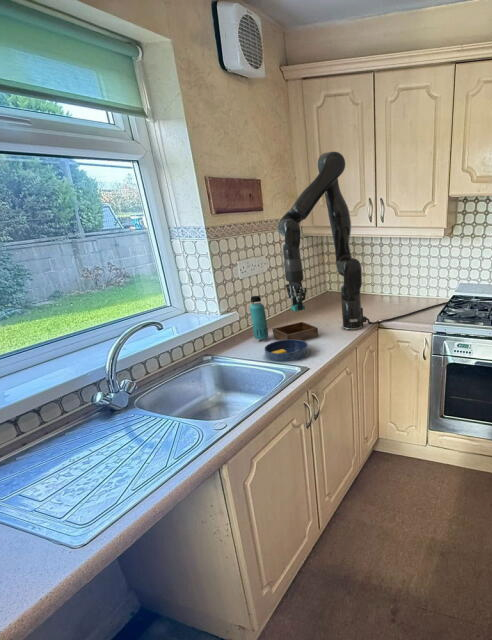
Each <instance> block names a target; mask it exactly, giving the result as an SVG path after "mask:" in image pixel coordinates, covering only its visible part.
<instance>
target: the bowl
mask: <svg viewBox="0 0 492 640" xmlns="http://www.w3.org/2000/svg"><path fill="white" fill-rule="evenodd" d="M281 349H284V350H286V351H287V353H272V352H273V351H277V350H281ZM309 351H310V350H309V343H308V342H306V340H303V341H302V340H294V339H290V340H276V341H273V342H270V343H267V344H266V346H264V354H265V359H267V360H268V361H271V362H276V363H288V362H294V361H300V360H302V359H304V358H305V357H307V356H308V355H309V353H310V352H309Z"/></svg>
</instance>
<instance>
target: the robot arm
mask: <svg viewBox="0 0 492 640" xmlns="http://www.w3.org/2000/svg"><path fill="white" fill-rule="evenodd" d="M345 169H346V160H345V157H344V155H343V154H342V153H341V152H339V151H326V152H323V153H322V154H320V155H319V156H318V159H317V171H318V174H317V176H316V177H315V178H314V180H313V181H311V183H310V184H309V185H307V187H305V188H304V189H303V191H301V193H300V194H299V196H298V197H297V199H296V200H295V202H294V203H293V205H291V208H290V209H288V210H287V211H286V212H285V214H284V215H282V217H281V218H280V220H279V222H278V224H277V229H278V232H279V234H280V235H281V236H284V244H283V246H282V254H283V269H284V276H285V281H286V282H288V283H286V284H285V288H286V292H287V295H288V298H289V299H290V300H291V301H292V302H291V303H292V305H297V306H298V310H300V311H303V310H302V309H303V305H304V304H303V302H304V301H306V296H307V287H304V286H303V283H302V281H304V280H305V279H304V277H305V276H304V268H303V261H302V254H301V239H302V238H301V236H302V231H301V225H300V224H301V222H302V221H304V220H306V219H307V218H308V217H309V215H310V214H311V213H312V211H313V210H314V209H315V207H316V205H317V204H318V203H319V201H320V199H321V198H322V197H323V195H324V197H325V205H326V209H327V216H328V220H329V227H330V231H331V236H332V240H333V246H334V251H335V252H334V253H335V255H334V256H335V264H336V270H337V272H338V274H339V275H340V276H342V277H343V284H342V285H341V286H340V299H341V300H340V301H341V316H342V317H341V319H342V329H343V330H346V331H358V330H360V329H362V328H364V323H368V324H369V325H373V324H374V325H375V324H376V325H377V324H381V323H385V322H390V321H393V320H398V319H401V318H405V317H407V316H411V315H414V314H418V313H421V312H423V311H426V310H429V309H432V308H433V309H434V308H436V307H440V306H444V305H448V304H449V303H448V302H449V301H446V302H441V303H438V304H434V305H430V306H428V307H427V306H426V307H424V308H421V309H418V310H414V311H412V312H408V313H405V314H402V315H398V316H394V317H390V318H386V319H382V320H377V321H373V322H372V321H370V319H369V318H368V317H367V316H364V308H363V307H362V299H361V288H362V284H363V278H362V277H363V272H362V269H363V268H362V264H361V262H360V260H359V259H357V258H356V257H352V256H353V255H352V253H351V248H350V247H351V246H350V239H351V233H352V219H351V214H350V209H349V206H348V204H347V201H346V200H345V197H344V196H343V194H342V191H341V188H340V183H339V177H341V176H342V174H343V173H344V171H345Z"/></svg>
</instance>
